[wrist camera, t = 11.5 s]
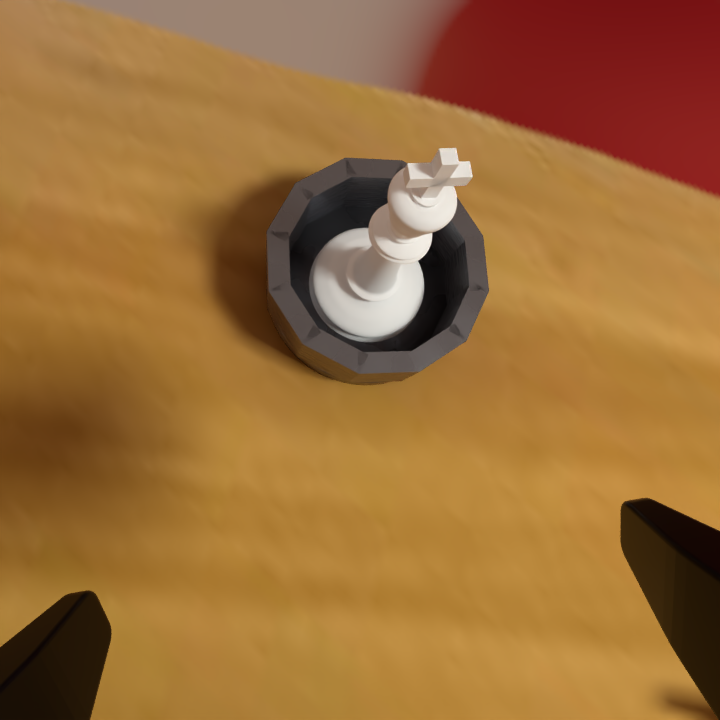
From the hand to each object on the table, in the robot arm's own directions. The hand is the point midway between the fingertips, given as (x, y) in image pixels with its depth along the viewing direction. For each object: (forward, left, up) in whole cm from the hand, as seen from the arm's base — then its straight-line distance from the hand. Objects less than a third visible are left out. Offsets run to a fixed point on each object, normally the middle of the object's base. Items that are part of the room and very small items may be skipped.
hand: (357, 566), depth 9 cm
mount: (+9, +2, -13) cm, 16 cm away
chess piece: (+9, +2, -12) cm, 15 cm away
